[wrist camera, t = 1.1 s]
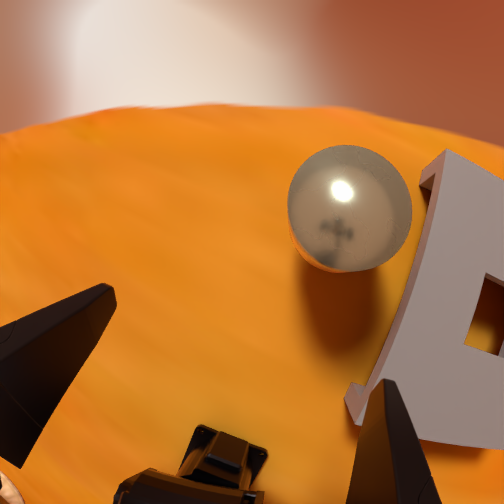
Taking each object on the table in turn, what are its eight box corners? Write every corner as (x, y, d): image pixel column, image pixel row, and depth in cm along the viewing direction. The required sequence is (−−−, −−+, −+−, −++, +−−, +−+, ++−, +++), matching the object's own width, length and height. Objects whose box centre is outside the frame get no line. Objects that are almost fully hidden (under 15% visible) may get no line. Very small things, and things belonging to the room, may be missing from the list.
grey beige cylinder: (355, 285, 23) (390, 289, 14) (276, 256, 24) (268, 243, 15) (380, 208, 23) (423, 172, 15) (305, 179, 24) (311, 128, 16)
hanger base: (480, 429, 20) (505, 449, 15) (343, 398, 23) (354, 424, 18) (542, 238, 21) (573, 231, 16) (422, 170, 23) (446, 148, 18)
